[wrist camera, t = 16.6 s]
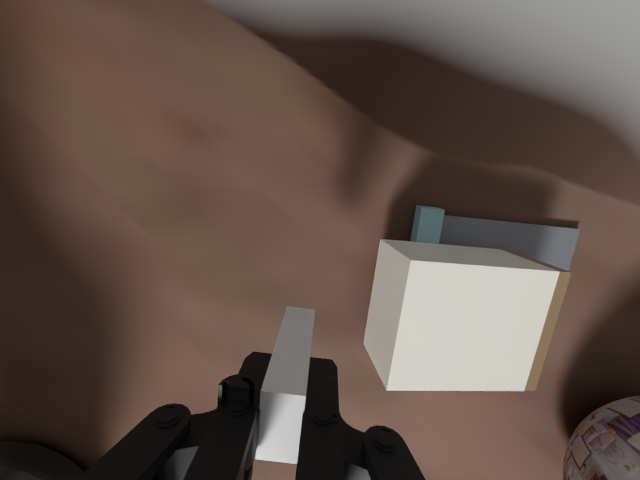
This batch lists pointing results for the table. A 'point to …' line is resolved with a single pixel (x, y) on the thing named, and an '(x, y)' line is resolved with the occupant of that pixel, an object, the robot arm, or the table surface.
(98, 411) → the table surface
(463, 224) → the mat
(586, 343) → the table surface
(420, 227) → the strip
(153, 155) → the table surface
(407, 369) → the cream block
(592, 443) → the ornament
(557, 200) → the table surface
